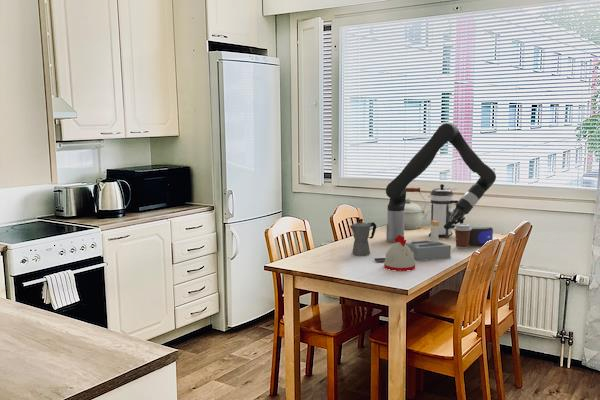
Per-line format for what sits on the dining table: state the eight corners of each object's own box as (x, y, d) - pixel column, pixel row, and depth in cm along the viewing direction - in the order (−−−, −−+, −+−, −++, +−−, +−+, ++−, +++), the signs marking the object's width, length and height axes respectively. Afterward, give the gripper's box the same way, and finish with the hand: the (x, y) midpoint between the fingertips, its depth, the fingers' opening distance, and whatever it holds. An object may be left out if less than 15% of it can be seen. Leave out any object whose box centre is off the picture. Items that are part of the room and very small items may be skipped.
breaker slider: (434, 241, 287) (435, 220, 286) (440, 243, 282) (441, 221, 280) (427, 242, 286) (428, 220, 284) (433, 244, 281) (434, 222, 279)
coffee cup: (456, 244, 308) (457, 222, 306) (473, 246, 303) (474, 224, 301) (450, 247, 301) (451, 225, 299) (467, 249, 295) (468, 227, 294)
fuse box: (435, 251, 293) (435, 238, 292) (450, 257, 280) (451, 243, 279) (403, 254, 288) (404, 240, 287) (417, 260, 274) (418, 246, 273)
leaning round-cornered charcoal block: (465, 246, 303) (466, 229, 302) (462, 244, 307) (462, 227, 306) (495, 245, 305) (495, 228, 303) (491, 243, 309) (492, 226, 308)
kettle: (389, 229, 351) (390, 189, 348) (390, 224, 369) (390, 185, 366) (431, 230, 347) (432, 189, 344) (429, 224, 365) (430, 186, 362)
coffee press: (435, 239, 322) (437, 186, 317) (423, 233, 337) (424, 183, 333) (463, 237, 326) (465, 185, 321) (450, 232, 341) (451, 182, 337)
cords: (376, 262, 272) (376, 260, 271) (374, 260, 276) (374, 258, 275) (410, 261, 274) (410, 258, 274) (407, 258, 278) (407, 256, 278)
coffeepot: (354, 257, 282) (354, 221, 280) (345, 253, 291) (345, 218, 288) (381, 254, 289) (381, 218, 286) (371, 250, 297) (371, 216, 295)
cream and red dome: (395, 272, 254) (395, 239, 252) (378, 265, 266) (379, 234, 264) (421, 269, 259) (421, 236, 257) (403, 262, 272) (404, 231, 270)
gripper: (455, 196, 292) (433, 221, 290) (470, 199, 279) (447, 225, 277) (464, 205, 294) (442, 231, 292) (479, 209, 282) (457, 235, 280)
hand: (445, 228), depth 285 cm, fingers closed
